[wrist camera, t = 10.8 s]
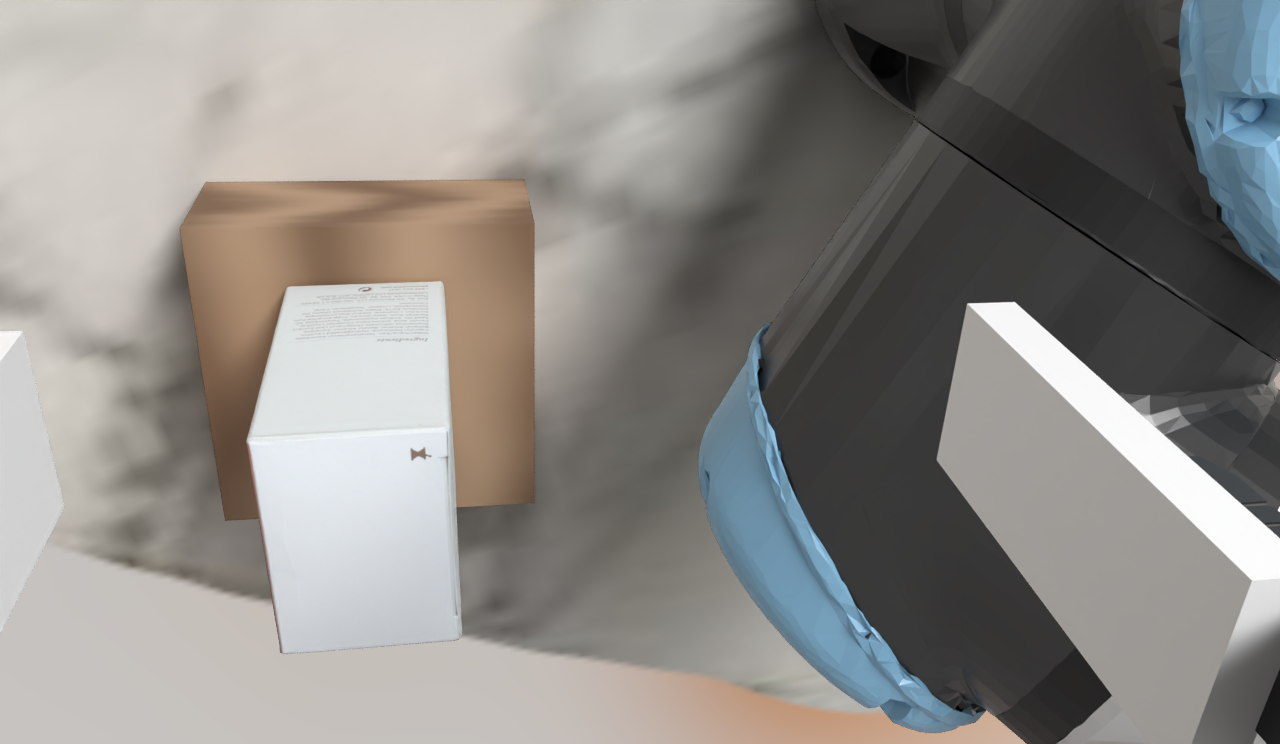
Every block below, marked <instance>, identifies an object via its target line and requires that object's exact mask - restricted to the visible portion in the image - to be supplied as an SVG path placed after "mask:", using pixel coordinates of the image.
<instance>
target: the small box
mask: <svg viewBox="0 0 1280 744" xmlns="http://www.w3.org/2000/svg"><path fill="white" fill-rule="evenodd" d="M246 443H247V448H248V455H249V461H250V467H251V473H252V479H253V485H254V491H255V497H256V504H257V510H258V516H259V522H260V528H261V535H262V540H263V546H264V552H265V559H266V565H267V571H268V577H269V583H270V589H271V596H272V602H273V608H274V615H275V621H276V626H277V632H278V638H279V644H280V652H281V653H283V654H292V653H309V652H322V651H334V650H345V649H357V648H358V649H359V648H370V647H383V646H395V645H407V644H419V643H430V642H443V641H455V640H459V639H460V638H461V636H462V620H461V598H460V576H459V554H458V533H457V511H456V484H455V464H454V447H453V431H452V416H451V401H450V380H449V360H448V340H447V324H446V308H445V295H444V285H443V282H441V281H432V282H405V283H376V284H347V285H317V286H290V287H287V288H286V291H285V295H284V299H283V302H282V306H281V310H280V313H279V318H278V321H277V325H276V329H275V333H274V337H273V341H272V345H271V349H270V352H269V356H268V360H267V364H266V368H265V372H264V376H263V379H262V383H261V387H260V391H259V395H258V399H257V403H256V407H255V411H254V415H253V418H252V422H251V426H250V430H249V433H248V437H247V440H246Z"/></svg>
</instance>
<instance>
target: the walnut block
mask: <svg viewBox="0 0 1280 744" xmlns="http://www.w3.org/2000/svg"><path fill="white" fill-rule="evenodd" d="M180 233H181V240H182V246H183V253H184V259H185V265H186V272H187V278H188V285H189V291H190V298H191V304H192V310H193V317H194V323H195V330H196V336H197V343H198V349H199V356H200V362H201V368H202V375H203V381H204V388H205V394H206V401H207V407H208V413H209V420H210V426H211V433H212V439H213V446H214V452H215V458H216V465H217V471H218V478H219V484H220V491H221V497H222V503H223V510H224V516H225V521H227V520H245V519H259V516H258V510H257V504H256V497H255V491H254V485H253V479H252V473H251V467H250V461H249V455H248V448H247V443H246V440H247V437H248V433H249V430H250V426H251V422H252V418H253V415H254V411H255V407H256V403H257V399H258V395H259V391H260V387H261V383H262V379H263V376H264V372H265V368H266V364H267V360H268V356H269V352H270V349H271V345H272V341H273V337H274V333H275V329H276V325H277V321H278V318H279V313H280V310H281V306H282V302H283V299H284V295H285V291H286V288H287V287H290V286H317V285H347V284H376V283H405V282H432V281H441V282H443V285H444V295H445V308H446V324H447V340H448V360H449V380H450V401H451V416H452V431H453V447H454V464H455V484H456V508H457V507H475V506H492V505H510V504H528V503H534V219H533V215H532V211H531V207H530V202H529V198H528V194H527V189H526V185H525V181H524V180H418V181H303V182H206V183H205V185H204V186H203V188H202V190H201V192H200V194H199V195H198V197H197V199H196V201H195V202H194V204H193V206H192V208H191V210H190V211H189V213H188V215H187V217H186V218H185V220H184V222H183V224H182V226H181V227H180Z"/></svg>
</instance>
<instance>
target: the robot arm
mask: <svg viewBox="0 0 1280 744" xmlns="http://www.w3.org/2000/svg"><path fill="white" fill-rule="evenodd" d="M815 4H816V7H817V10H818V13H819V16H820V18H821V21H822V23H823V26H824V28H825V30H826V32H827V34H828V36H829V38H830V40H831V41H832V43H833V45H834V47H835V48H836V50H837V51H838V53H839V54H840V56H841V57H842V59H843V60H844V61H845V62H846V64H847V65H848V66H849V67H850V69H851V70H852V71H853V72H854V73H855V74H856V75H857V76H858V77H859V78H860V79H861V80H862V81H863V82H864V83H866V84H867V85H868V86H869V87H870V88H872V89H873V90H874V91H876V92H877V93H878V94H880V95H881V96H883V97H884V98H886V99H887V100H888V101H890V102H891V103H893V104H894V105H896V106H897V107H899V108H901V109H902V110H904V111H906V112H907V113H909V114H911V115H913V116H915V117H917V119H918V120H919V121H920V122H921V123H920V122H919V121H917V120H914V122H913V123H912V124H911V126H910V127H909V129H908V130H907V132H906V133H905V134H904V136H903V137H902V139H901V140H900V142H899V143H898V144H897V146H896V147H895V149H894V150H893V152H892V153H891V154H890V156H889V157H888V159H887V160H886V162H885V163H884V164H883V166H882V167H881V169H880V170H879V172H878V173H877V174H876V176H875V177H874V179H873V180H872V182H871V183H870V184H869V186H868V187H867V189H866V190H865V192H864V193H863V194H862V196H861V197H860V199H859V200H858V201H857V203H856V204H855V206H854V207H853V209H852V210H851V211H850V213H849V214H848V216H847V217H846V219H845V220H844V221H843V223H842V224H841V226H840V227H839V229H838V230H837V231H836V233H835V234H834V236H833V237H832V239H831V240H830V241H829V243H828V244H827V246H826V247H825V249H824V250H823V251H822V253H821V254H820V256H819V257H818V259H817V260H816V261H815V263H814V264H813V266H812V267H811V269H810V270H809V271H808V273H807V274H806V276H805V277H804V279H803V280H802V281H801V283H800V284H799V286H798V287H797V289H796V290H795V291H794V293H793V294H792V296H791V297H790V298H789V300H788V301H787V303H786V304H785V306H784V307H783V308H782V310H781V311H780V313H779V314H778V316H777V317H776V318H775V320H774V321H773V322H771V323H766V324H765V325H764V326H763V327H762V328H761V329H760V330H759V331H758V332H757V334H756V335H755V337H754V339H753V341H752V343H751V345H750V347H749V353H748V358H747V361H746V363H745V364H744V366H743V367H742V369H741V371H740V372H739V374H738V376H737V377H736V379H735V380H734V382H733V384H732V385H731V387H730V388H729V390H728V392H727V393H726V395H725V397H724V398H723V400H722V401H721V403H720V405H719V406H718V408H717V409H716V411H715V413H714V414H713V416H712V418H711V419H710V421H709V423H708V425H707V427H706V429H705V432H704V435H703V438H702V441H701V445H700V450H699V460H698V472H699V480H700V487H701V493H702V495H703V498H704V500H705V502H706V505H707V506H706V510H707V517H708V519H709V522H710V525H711V528H712V530H713V533H714V535H715V537H716V540H717V542H718V544H719V546H720V548H721V550H722V551H723V553H724V555H725V557H726V559H727V561H728V563H729V564H730V566H731V568H732V569H733V571H734V573H735V574H736V576H737V577H738V579H739V581H740V582H741V584H742V585H743V587H744V588H745V590H746V591H747V592H748V594H749V595H750V597H751V598H752V599H753V601H754V602H755V603H756V604H757V606H758V607H759V608H760V610H761V611H762V612H763V613H764V615H765V616H766V617H767V619H768V620H769V621H770V622H771V623H772V624H773V625H774V627H775V628H776V629H777V630H778V631H779V632H780V633H781V635H782V636H783V637H784V638H785V639H786V640H787V642H788V643H789V644H790V645H791V646H792V647H793V648H794V649H795V650H796V651H797V652H798V653H799V654H800V655H801V656H802V657H803V658H804V659H805V660H806V661H807V662H808V663H809V664H810V665H811V666H812V667H813V668H815V669H816V670H817V671H818V672H819V673H820V674H821V675H822V676H824V677H825V678H826V679H827V680H828V681H829V682H831V683H832V684H833V685H835V686H836V687H837V688H839V689H840V690H841V691H843V692H844V693H845V694H847V695H848V696H850V697H851V698H852V699H854V700H855V701H857V702H858V703H860V704H861V705H863V706H864V707H867V708H874V707H877V706H880V707H881V708H882V710H883V711H884V712H885V713H886V715H887V716H888V717H889V718H890V720H891V721H892V722H893V723H896V724H898V725H901V726H903V727H906V728H909V729H912V730H915V731H919V732H925V733H942V732H946V731H950V730H954V729H956V728H957V727H959V726H963V725H967V724H971V723H975V722H976V721H977V720H978V719H979V718H980V717H981V716H982V715H983V714H984V712H985V711H986V710H987V711H988V712H990V713H991V714H992V715H993V716H995V717H997V718H998V719H999V720H1000V721H1001V722H1002V723H1004V724H1005V725H1006V726H1007V727H1008V728H1009V729H1010V730H1012V731H1013V732H1014V733H1015V734H1016V735H1018V737H1020V738H1021V739H1022V740H1023V741H1024V742H1025V743H1027V744H1280V390H1279V389H1278V388H1277V387H1276V386H1275V383H1274V378H1275V377H1276V376H1277V374H1278V373H1279V372H1280V362H1279V361H1280V0H815ZM1276 359H1277V360H1276ZM63 509H64V502H63V498H62V494H61V490H60V485H59V481H58V477H57V473H56V468H55V464H54V460H53V456H52V451H51V447H50V443H49V439H48V434H47V430H46V426H45V422H44V417H43V413H42V409H41V405H40V400H39V396H38V392H37V388H36V383H35V379H34V375H33V370H32V366H31V362H30V358H29V353H28V349H27V345H26V341H25V336H24V332H23V331H6V332H0V633H1V631H2V629H3V627H4V625H5V623H6V621H7V619H8V617H9V615H10V613H11V611H12V609H13V607H14V605H15V603H16V601H17V599H18V597H19V595H20V593H21V591H22V589H23V588H24V586H25V584H26V582H27V580H28V578H29V576H30V574H31V572H32V570H33V568H34V566H35V564H36V562H37V560H38V558H39V556H40V554H41V552H42V550H43V548H44V546H45V544H46V542H47V540H48V538H49V536H50V534H51V532H52V530H53V528H54V526H55V524H56V522H57V520H58V519H59V517H60V515H61V513H62V511H63Z"/></svg>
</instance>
